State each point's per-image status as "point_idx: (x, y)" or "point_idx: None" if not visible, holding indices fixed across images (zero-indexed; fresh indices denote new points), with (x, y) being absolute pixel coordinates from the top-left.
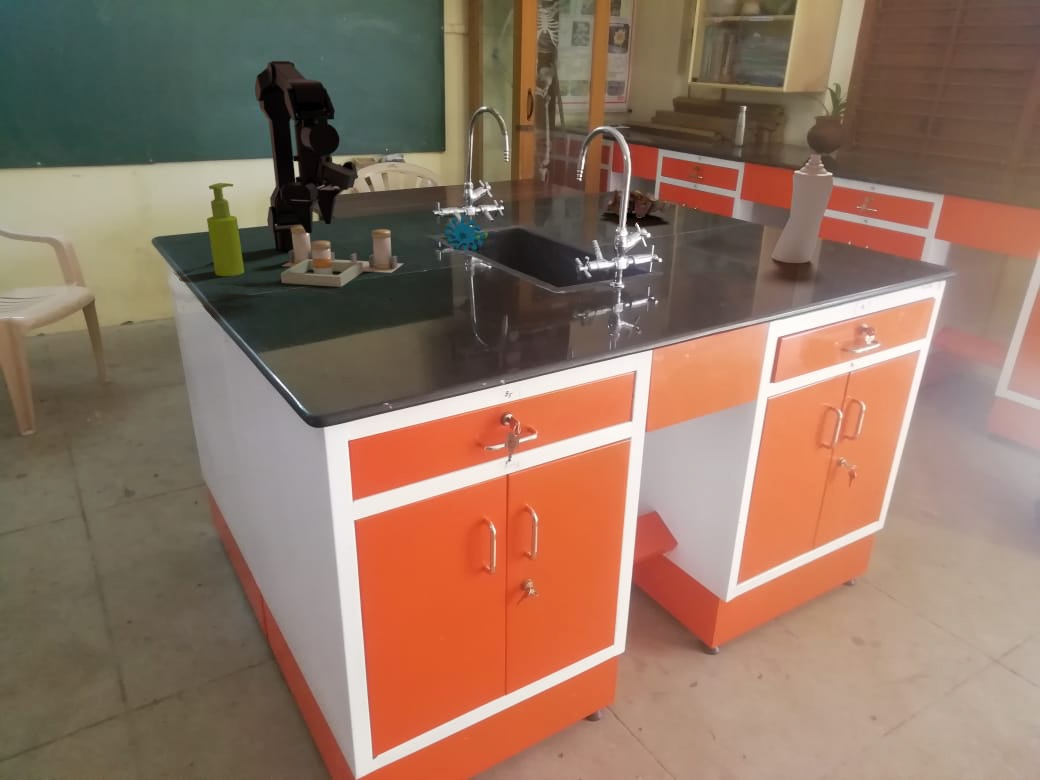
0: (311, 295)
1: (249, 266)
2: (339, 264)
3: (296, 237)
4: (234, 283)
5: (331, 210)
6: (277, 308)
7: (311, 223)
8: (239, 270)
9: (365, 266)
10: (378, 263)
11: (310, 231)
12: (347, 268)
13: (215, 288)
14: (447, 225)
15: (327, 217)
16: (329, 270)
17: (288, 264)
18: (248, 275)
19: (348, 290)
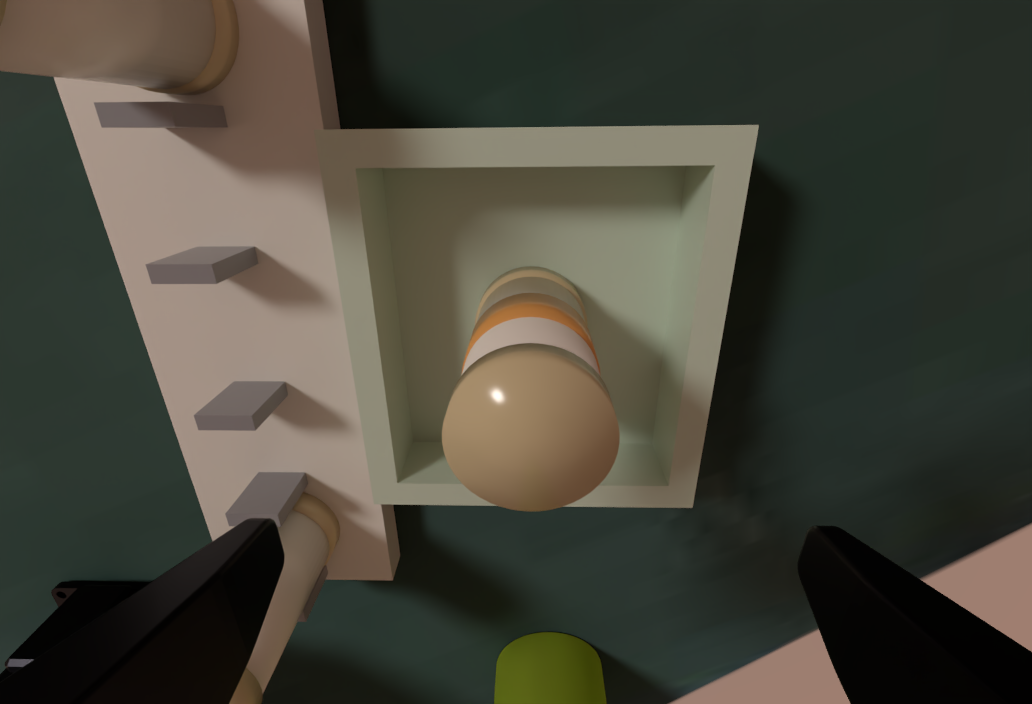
0: (756, 286)
1: (362, 679)
2: (377, 296)
3: (273, 660)
4: (601, 637)
5: (125, 663)
6: (987, 350)
7: (962, 618)
8: (567, 675)
9: (217, 167)
10: (209, 22)
11: (855, 543)
12: (377, 235)
13: (677, 661)
14: None
15: (234, 607)
16: (551, 292)
17: (360, 565)
18: (482, 639)
19: (636, 114)
